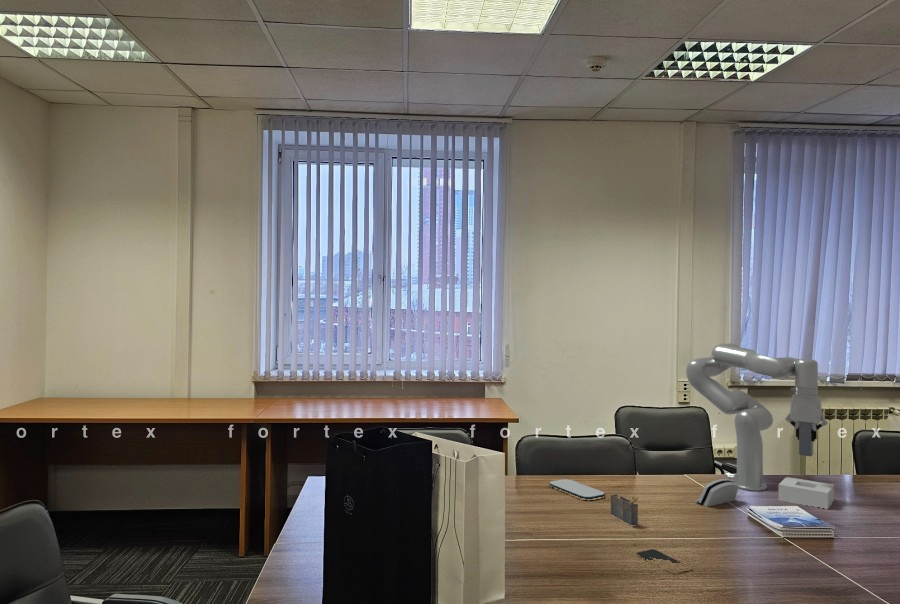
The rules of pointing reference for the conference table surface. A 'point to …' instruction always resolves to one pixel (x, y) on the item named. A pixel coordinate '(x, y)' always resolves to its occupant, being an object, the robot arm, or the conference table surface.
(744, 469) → the robot arm
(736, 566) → the conference table surface
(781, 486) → the well block
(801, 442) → the bracket bar
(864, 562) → the conference table surface
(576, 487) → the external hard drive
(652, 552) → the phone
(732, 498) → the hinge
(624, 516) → the grey upright flat piece
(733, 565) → the conference table surface
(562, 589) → the conference table surface
